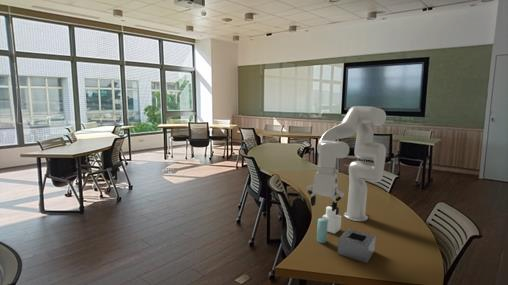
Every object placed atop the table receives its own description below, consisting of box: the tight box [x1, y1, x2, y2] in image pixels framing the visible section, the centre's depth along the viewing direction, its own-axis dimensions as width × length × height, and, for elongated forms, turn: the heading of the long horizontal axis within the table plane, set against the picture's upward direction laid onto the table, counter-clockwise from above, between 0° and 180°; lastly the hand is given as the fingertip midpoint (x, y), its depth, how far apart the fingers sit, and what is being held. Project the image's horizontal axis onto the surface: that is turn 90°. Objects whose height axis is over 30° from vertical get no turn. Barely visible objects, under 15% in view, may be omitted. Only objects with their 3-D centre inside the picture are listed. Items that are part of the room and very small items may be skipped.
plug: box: [316, 217, 328, 244], centre depth 140 cm, size 4×4×10 cm
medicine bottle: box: [321, 204, 342, 234], centre depth 153 cm, size 7×7×12 cm
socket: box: [337, 228, 377, 264], centre depth 130 cm, size 12×12×7 cm
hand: (323, 207), depth 138 cm, fingers open, 9 cm apart
